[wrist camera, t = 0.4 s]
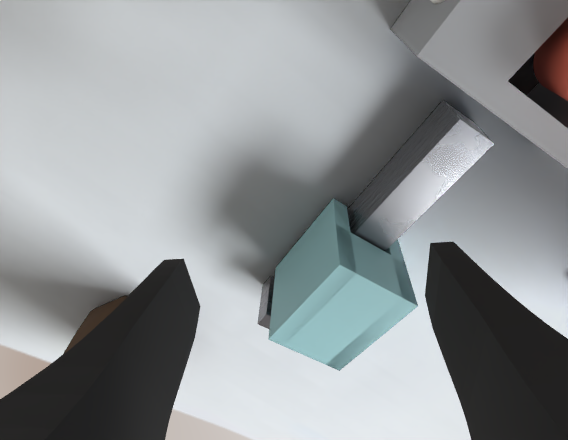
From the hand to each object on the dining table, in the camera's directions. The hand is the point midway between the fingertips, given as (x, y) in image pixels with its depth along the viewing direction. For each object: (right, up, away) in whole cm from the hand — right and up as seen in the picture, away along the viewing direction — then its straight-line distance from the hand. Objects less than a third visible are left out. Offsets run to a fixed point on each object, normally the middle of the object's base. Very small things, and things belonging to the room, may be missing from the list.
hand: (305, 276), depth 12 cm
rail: (+4, +2, +11) cm, 11 cm away
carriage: (+2, 0, +12) cm, 12 cm away
